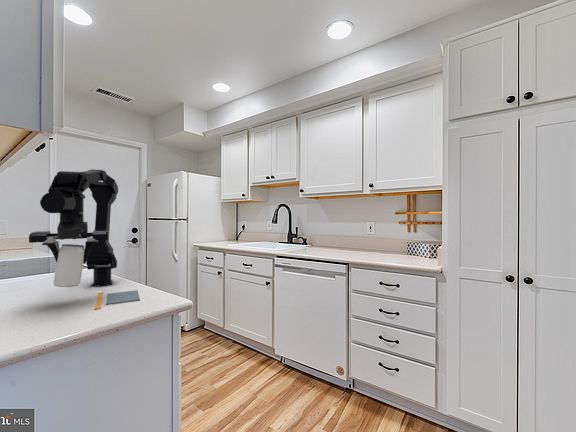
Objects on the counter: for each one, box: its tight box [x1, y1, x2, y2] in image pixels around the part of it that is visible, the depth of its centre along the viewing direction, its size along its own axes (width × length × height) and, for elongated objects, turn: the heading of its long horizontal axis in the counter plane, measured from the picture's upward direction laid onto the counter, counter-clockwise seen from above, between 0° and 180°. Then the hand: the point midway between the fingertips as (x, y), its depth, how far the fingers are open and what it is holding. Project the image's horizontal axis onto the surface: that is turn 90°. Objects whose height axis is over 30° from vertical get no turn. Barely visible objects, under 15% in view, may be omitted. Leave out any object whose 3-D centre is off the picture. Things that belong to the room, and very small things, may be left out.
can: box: [52, 243, 85, 288], centre depth 86 cm, size 6×6×12 cm
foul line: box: [93, 291, 104, 311], centre depth 89 cm, size 18×2×1 cm, turn 31°
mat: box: [105, 289, 141, 306], centre depth 92 cm, size 12×9×1 cm
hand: (71, 264), depth 86 cm, fingers closed on can, 6 cm apart
